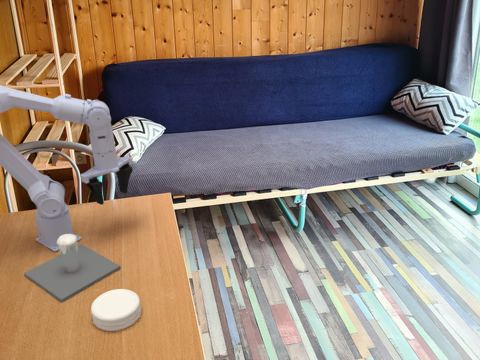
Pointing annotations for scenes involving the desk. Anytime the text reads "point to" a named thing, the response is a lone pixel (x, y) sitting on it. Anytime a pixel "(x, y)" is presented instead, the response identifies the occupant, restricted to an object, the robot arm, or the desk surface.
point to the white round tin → (116, 310)
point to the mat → (72, 274)
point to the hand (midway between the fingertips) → (112, 197)
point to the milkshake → (69, 252)
